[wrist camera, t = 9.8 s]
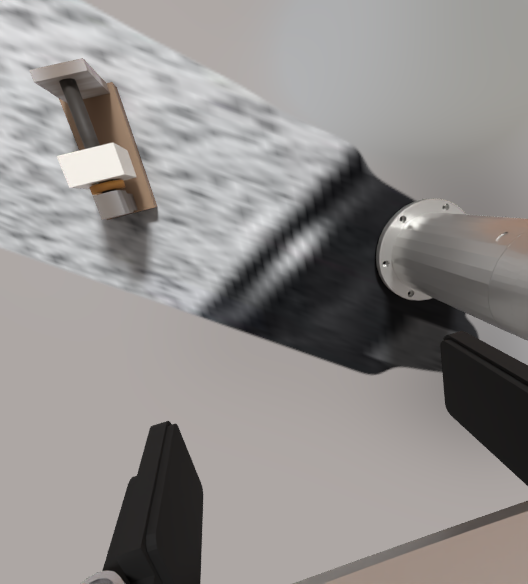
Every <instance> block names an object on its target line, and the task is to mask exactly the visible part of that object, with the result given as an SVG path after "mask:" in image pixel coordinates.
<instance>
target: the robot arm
mask: <svg viewBox="0 0 528 584" xmlns="http://www.w3.org/2000/svg"><path fill="white" fill-rule="evenodd" d="M399 220H400V221H399ZM383 262H384V264H383ZM376 263H377V269H378V272H379V275H380V277H381V279H382V281H383V283H384V284H385V285H386V286H387V287H388V289H390V290H391V291H392V292H394V293H395V294H397V295H399V296H401V297H403V298H406V299H409V300H417V301H420V300H428V299H431V298H435V299H437V300H439V301H441V302H443V303H445V304H448V305H450V306H452V307H454V308H456V309H459V310H461V311H463V312H465V313H467V314H469V315H472V316H474V317H476V318H478V319H481V320H483V321H485V322H487V323H489V324H491V325H494V326H496V327H498V328H500V329H502V330H504V331H507V332H509V333H511V334H514V335H516V336H518V337H520V338H523V339H525V340H528V219H521V218H509V217H508V218H507V217H494V216H480V215H466V214H465V212H464V211H463V210H462V209H461V208H460V207H459V206H457V205H456V204H454V203H452V202H450V201H447V200H442V199H422V200H419V201H415V202H413V203H411V204H409V205H407V206H405V207H403V208H402V209H401V210H399V211H398V212H397V213H396V214H395V215H394V216H393V217H392V218H391V219H390V220H389V222H388V223H387V225H386V226H385V227H384V229H383V231H382V234H381V236H380V238H379V242H378V245H377V251H376ZM441 358H442V371H443V382H444V395H445V405H446V408H447V410H448V412H449V413H450V415H451V416H452V417H453V418H454V419H456V420H457V421H458V422H459V423H460V424H461V425H462V426H463V427H464V428H465V429H466V430H467V431H469V432H470V433H471V434H472V435H473V436H474V437H475V438H476V439H477V440H478V441H479V442H480V443H482V444H483V445H484V446H485V447H486V448H487V449H488V450H489V451H490V452H491V453H493V454H494V455H495V456H496V457H497V458H498V459H499V460H500V461H501V462H503V464H504V465H506V466H507V467H508V468H509V469H510V470H511V471H512V472H513V473H514V474H515V475H516V476H517V477H519V478H520V479H521V480H522V481H523V482H524V483H525V484H526V485H527V486H528V365H526V364H524V363H522V362H520V361H518V360H516V359H515V358H513V357H511V356H509V355H507V354H505V353H503V352H502V351H500V350H498V349H496V348H494V347H492V346H490V345H488V344H486V343H485V342H483V341H481V340H479V339H477V338H475V337H474V336H472V335H470V334H468V333H466V332H464V331H460V332H456V333H453V334H450V335H447V336H445V337H444V341H442V342H441ZM202 517H203V489H202V485H201V482H200V480H199V477H198V475H197V473H196V470H195V467H194V465H193V463H192V460H191V457H190V455H189V453H188V450H187V448H186V445H185V443H184V440H183V438H182V435H181V433H180V430H179V428H178V426H177V424H173V425H172V424H171V423H170V422H169V421H166V422H163V423H160V424H157V425H153V426H151V428H150V431H149V434H148V438H147V441H146V445H145V449H144V452H143V456H142V459H141V463H140V467H139V471H138V474H137V476H135V477H132V478H131V479H130V481H129V484H128V487H127V490H126V493H125V497H124V500H123V504H122V507H121V510H120V514H119V517H118V520H117V524H116V527H115V530H114V534H113V537H112V541H111V544H110V547H109V551H108V554H107V557H106V561H105V564H104V568H103V571H102V572H98V573H96V574H94V575H92V576H90V577H88V578H87V579H86V580H84V581H83V582H82V583H81V584H200V575H201V545H202ZM293 584H528V501H526V502H523V503H520V504H517V505H514V506H511V507H508V508H506V509H503V510H500V511H497V512H494V513H491V514H488V515H485V516H482V517H479V518H476V519H474V520H471V521H468V522H465V523H462V524H460V525H456V526H454V527H451V528H448V529H446V530H443V531H439V532H437V533H434V534H431V535H428V536H425V537H422V538H420V539H417V540H414V541H411V542H408V543H405V544H403V545H400V546H397V547H394V548H392V549H389V550H386V551H383V552H380V553H377V554H374V555H372V556H369V557H366V558H363V559H360V560H357V561H355V562H352V563H349V564H346V565H343V566H341V567H338V568H335V569H333V570H330V571H327V572H324V573H321V574H319V575H316V576H313V577H310V578H307V579H305V580H302V581H299V582H296V583H293Z"/></svg>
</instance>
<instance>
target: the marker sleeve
mask: <svg viewBox="0 0 528 584" xmlns="http://www.w3.org/2000/svg"><path fill="white" fill-rule="evenodd" d="M57 158H58V161H59V163H60V166H61V168H62V170H63V173H64V175H65V178H66V180H67V182H68V185H69V187H70V188H80V189H90V188H89V187H91V186H93V185H96V184H99V182H103V181H107V180H111V179H113V181H114V180H123V181H124V180H128V179H132V178H136V174H135V171H134V168H133V165H132V162H131V159H130V157H129V154H128V151H127V150H126V149H124V148H122V147H120V146H119V145H117V144H115V143H109V144H105V145H101V146H96V147H92V148H88V149H84V150H80V151H76V152H72V153H68V154H63V155H59V156H57Z"/></svg>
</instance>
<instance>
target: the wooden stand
mask: <svg viewBox="0 0 528 584" xmlns="http://www.w3.org/2000/svg"><path fill="white" fill-rule="evenodd" d="M29 71H30V73H31V76H32V78H33V81H34V82H35V83H36V84H38V85H39V86H41V87H42V88H44V89H46V90H47V91H49V92H50V93H52V94H53V95H55V96H57V97H58V98H59V100H60V102H61V105H62V107H63V110H64V112H65V115H66V117H67V120H68V123H69V125H70V128H71V130H72V133H73V135H74V138H75V140H76V143H77V145H78V148H79V150H84V149H88V148H92V147H96V146H101V145H105V144H109V143H115V144H117V145H119V146H120V147H122V148H124V149H126V150H127V151H128V154H129V157H130V159H131V162H132V165H133V168H134V171H135V174H136V178H132V179H128V180H124V181H123V180H114V181H113V179H111V180H107V181H103V182H99V184H96V185H93V186H91V187H89V188H90V190H91V193H92V195H95V196H93V198H94V201H95V203H96V206H97V208H98V211H99V213H100V216H101V218H102V220H104V219H107V220H108V219H112V218H116V217H120V216H124V215H128V214H132V213H135V212H139V211H143V210H147V209H151V208H155V207H157V204H156V201H155V198H154V196H153V193H152V190H151V187H150V184H149V181H148V178H147V175H146V172H145V169H144V166H143V163H142V160H141V157H140V154H139V152H138V149H137V146H136V143H135V140H134V137H133V134H132V131H131V128H130V125H129V122H128V119H127V116H126V113H125V110H124V107H123V105H122V102H121V99H120V96H119V93H118V90H117V87H116V86H115V85H114V84H113V83H112V82H111V83H106V82H105V81H104V80H103V79H102V78H101V77H100V76H99V75H98V74H97V73H96V72H95V71H94V69H93V68H92V67H91V66H90V65H89V64H88V63H87V62H86V61H85V60H84V59H83V58H82V59H77V60H73V61H68V62H64V63H59V64H55V65H50V66H46V67H41V68H37V69H32V70H29Z"/></svg>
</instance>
